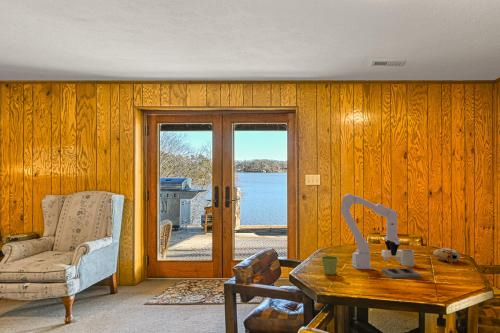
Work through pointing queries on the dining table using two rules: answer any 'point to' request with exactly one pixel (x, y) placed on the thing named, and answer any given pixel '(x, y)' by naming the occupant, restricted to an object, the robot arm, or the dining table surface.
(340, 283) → the dining table surface
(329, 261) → the plant pot
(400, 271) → the keyhole plate
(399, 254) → the power strip
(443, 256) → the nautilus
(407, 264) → the cup
